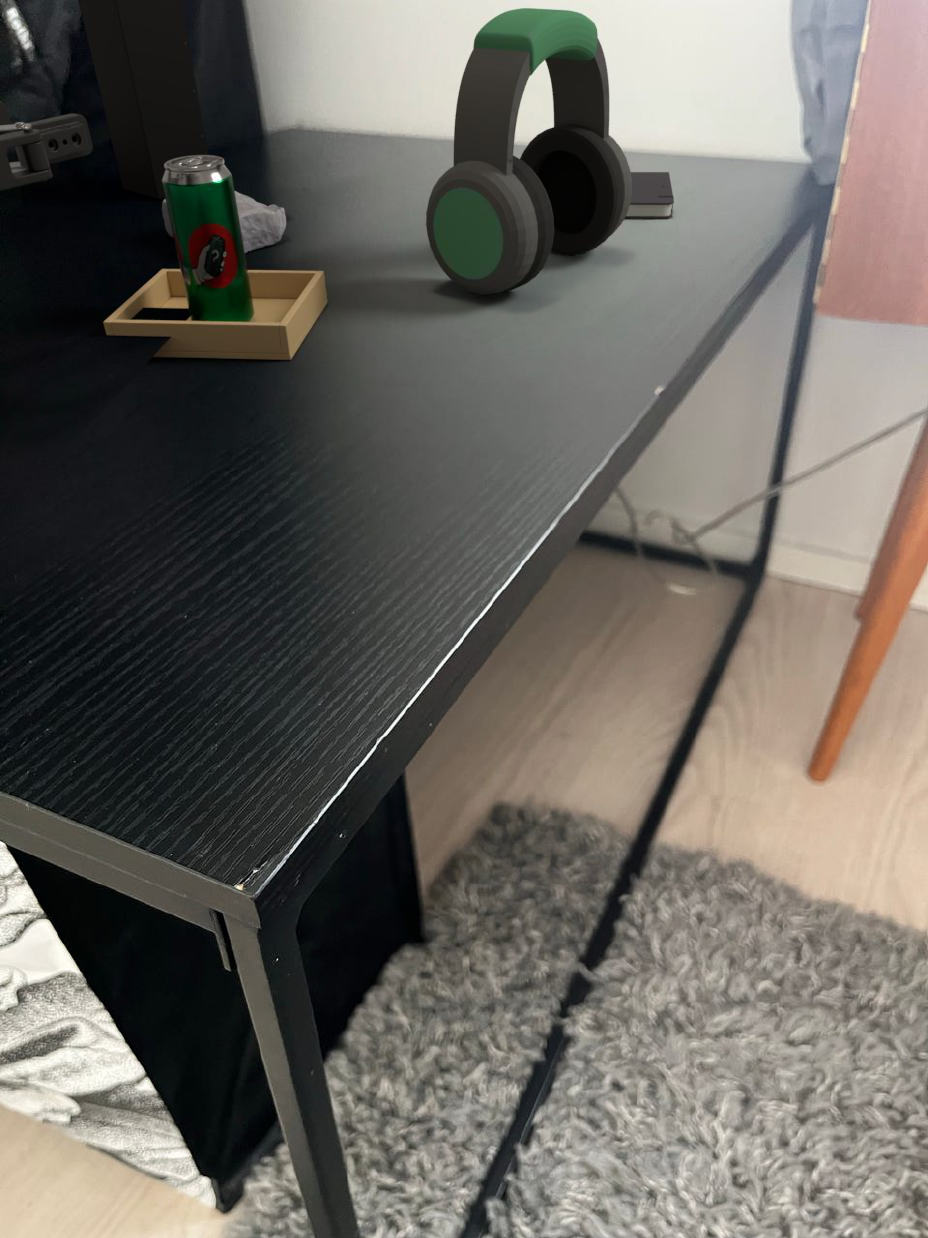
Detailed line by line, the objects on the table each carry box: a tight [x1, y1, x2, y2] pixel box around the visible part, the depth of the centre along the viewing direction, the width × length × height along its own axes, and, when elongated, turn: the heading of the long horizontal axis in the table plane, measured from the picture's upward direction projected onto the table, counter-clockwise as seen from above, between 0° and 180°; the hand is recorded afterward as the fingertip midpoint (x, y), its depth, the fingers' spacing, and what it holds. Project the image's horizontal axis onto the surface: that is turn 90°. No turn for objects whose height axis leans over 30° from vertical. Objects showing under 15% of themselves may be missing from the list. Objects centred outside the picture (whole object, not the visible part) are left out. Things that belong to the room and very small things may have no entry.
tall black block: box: [77, 0, 209, 200], centre depth 103 cm, size 8×8×28 cm
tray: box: [102, 268, 329, 361], centre depth 76 cm, size 14×12×3 cm
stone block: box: [161, 190, 287, 254], centre depth 95 cm, size 12×5×10 cm
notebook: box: [624, 171, 675, 220], centre depth 102 cm, size 13×2×21 cm
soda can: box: [162, 154, 254, 322], centre depth 72 cm, size 5×5×12 cm
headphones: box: [425, 7, 632, 295], centre depth 79 cm, size 19×11×20 cm, turn 143°
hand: (45, 124), depth 59 cm, fingers open, 8 cm apart
